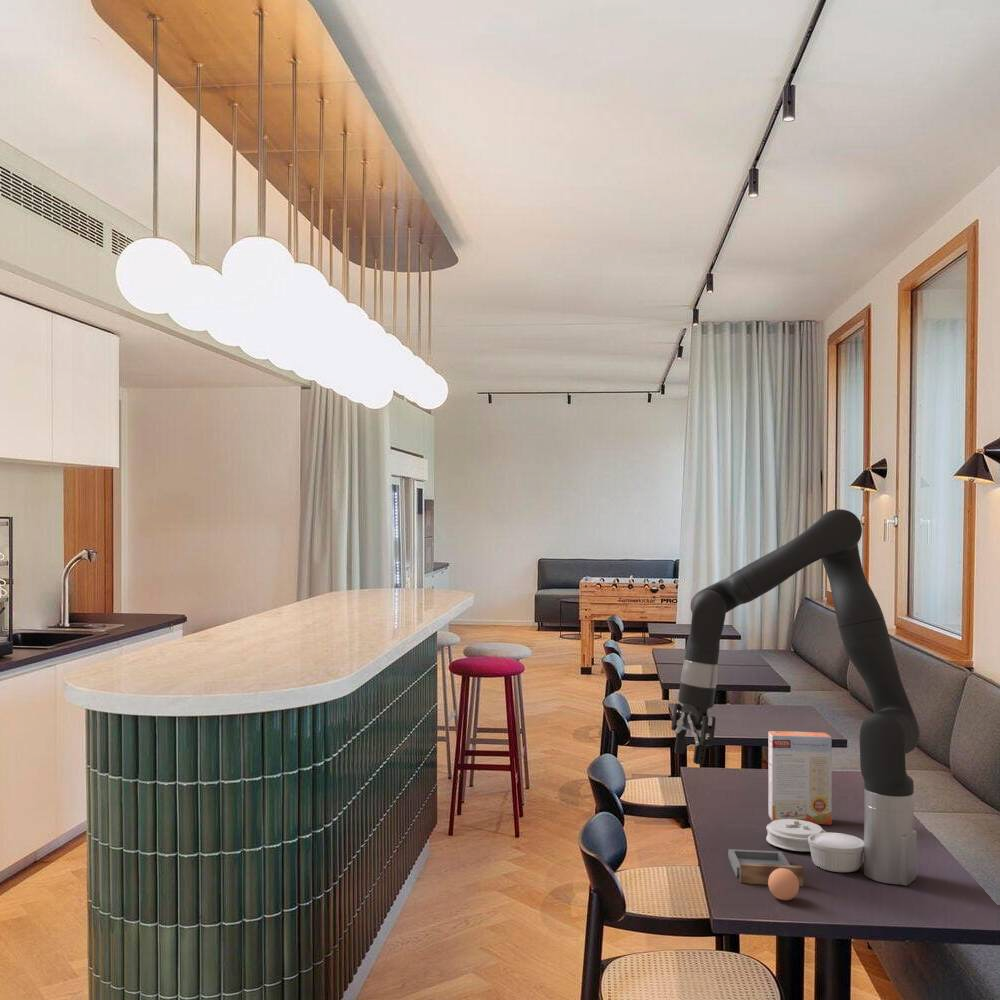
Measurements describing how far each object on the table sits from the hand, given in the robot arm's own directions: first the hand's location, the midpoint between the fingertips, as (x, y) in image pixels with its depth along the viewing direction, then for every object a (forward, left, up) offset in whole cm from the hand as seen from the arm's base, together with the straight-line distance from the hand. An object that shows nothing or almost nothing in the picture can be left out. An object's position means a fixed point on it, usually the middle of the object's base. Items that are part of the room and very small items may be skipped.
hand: (688, 758), depth 205 cm
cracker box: (-7, -40, -21) cm, 46 cm away
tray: (-15, -2, -20) cm, 26 cm away
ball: (-26, +10, -18) cm, 33 cm away
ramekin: (-26, -15, -20) cm, 37 cm away
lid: (-14, -22, -21) cm, 34 cm away
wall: (-21, +4, -20) cm, 29 cm away
